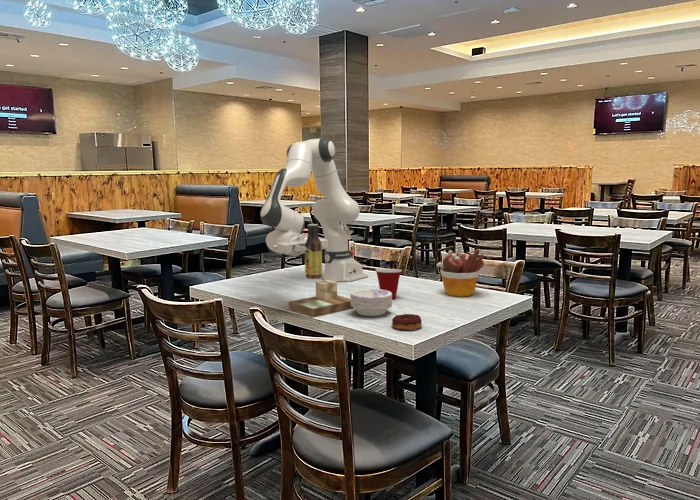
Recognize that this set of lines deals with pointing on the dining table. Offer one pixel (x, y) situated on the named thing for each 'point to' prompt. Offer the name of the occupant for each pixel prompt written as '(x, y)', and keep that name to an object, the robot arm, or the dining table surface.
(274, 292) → the dining table surface
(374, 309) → the paper bowls
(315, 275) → the sauce bottle
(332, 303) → the walnut board
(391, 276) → the plastic cup
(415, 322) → the donut
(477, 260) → the bucket of meat
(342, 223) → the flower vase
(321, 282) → the birch cube
